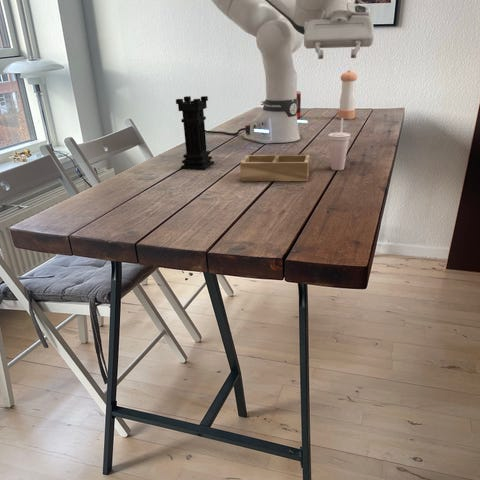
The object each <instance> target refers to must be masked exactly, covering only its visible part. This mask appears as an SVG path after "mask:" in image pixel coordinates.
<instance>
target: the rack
mask: <svg viewBox="0 0 480 480" xmlns="http://www.w3.org/2000/svg"><path fill="white" fill-rule="evenodd" d="M310 164H311V155H310V154H246V155H244V157H243V159H242V160H241V161H240V163H239V167H240V182H308V180H309V176H310V166H311V165H310Z"/></svg>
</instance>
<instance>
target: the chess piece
mask: <svg viewBox="0 0 480 480" xmlns="http://www.w3.org/2000/svg"><path fill="white" fill-rule="evenodd" d="M208 101H209V97H208V95H203V96H200V98H194V99H193V100H192V96H191V95H188V96H187V95H186V96H183V98H177V99H175V105H177V108H178V112H182V118H181V123H183V130H184V131H183V134H184V142H185V153H184V154H183V155H182V157H183V160H181V164H182V165H181V166H180V169H181V170H195V171H197V170H198V171H199V170H200V171H205V170H207V169H208V168H209V167H211V166H213V165H215V160H213V156H212V155H211V151H210V150H207V139H206V138H207V137H206V132H205V130H206V125H205V124H206V123H205V121H206V120H207V116H205V112H204V110H206V109H207V108H208V107H207V102H208Z"/></svg>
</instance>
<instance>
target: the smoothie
mask: <svg viewBox="0 0 480 480" xmlns="http://www.w3.org/2000/svg"><path fill="white" fill-rule="evenodd" d="M343 127H344V119H343V118H341V119H340V131H338V132H337V131H336V132H331V133H328V135H327V139H328V142H329V145H328V146H329V156H330V169H331V170H333V171H343V170H344V169H345V165H346V159H347V153H348V149H349V148H348V147H349V143H350V142H349V141H350V139H351V133H349V132H343V129H344V128H343Z"/></svg>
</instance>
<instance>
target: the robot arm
mask: <svg viewBox="0 0 480 480" xmlns="http://www.w3.org/2000/svg"><path fill="white" fill-rule="evenodd" d="M211 2H212V3H213V4H214V6H215V7H216V8H217V9H218V10H219V11H220V12H221V13H222V14H223V15H224V16H225V17H227V18H228V19H229V20H230V21H231V22H232V23H234V24H235V25H236V26H238V27H239V28H240V29H241V30H243V31H244V32H245V33H247V34H249V35H250V36H253V37H254V38H255V39H256V40H255V41H256V46H257V48H258V50H259V52H260V54H261V60H262V64H263V68H264V69H263V70H264V76H265V100H262V101H261V103H260V105H261V106H262V110H261V111H260V112H259V113H258V115H257V116H255V117H254V118H253V119H252V120H251V122H250V124H247V125H245V126H244V127H242V128H239V129H238V130H237V131H236V132H227V131H218V130H216V131H215V130H207V129H205V134H222V135H227V136H237V135H239V133H240V132H242V131H245V134H244V135H243V138H244V139H246V140H249V141H253V142H257V143H260V144H282V143H283V144H285V143H293V142H296V141H299V140H301V135H300V131H299V130H300V129H299V123H304V124H308V120H303V119H302V120H301V119H298V118H297V109H298V99H297V91H298V90H297V89H298V87H297V86H298V85H297V84H298V77H297V76H298V75H297V72H296V68H295V65H294V60H293V54H294V53H296V52H297V51H298V50H299V49H300V48H301V47H302V45H303V46H304V48H305V49H307V50H308V49H309V50H311V49H315V53H316V54H317V58H318V60H324V54H325V53H324V51H325V50H324V49H338V48H340V49H341V48H351V52H350V59H356V58H357V54H358V52H359V51H360V50H361V48H369V47H371V46H372V44H373V43H374V37H375V31H374V22H373V21H374V20H373V19H372V17H371V9H370V7H369V6H365V5H360V4H358V3H355V2H356V0H211Z"/></svg>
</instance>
